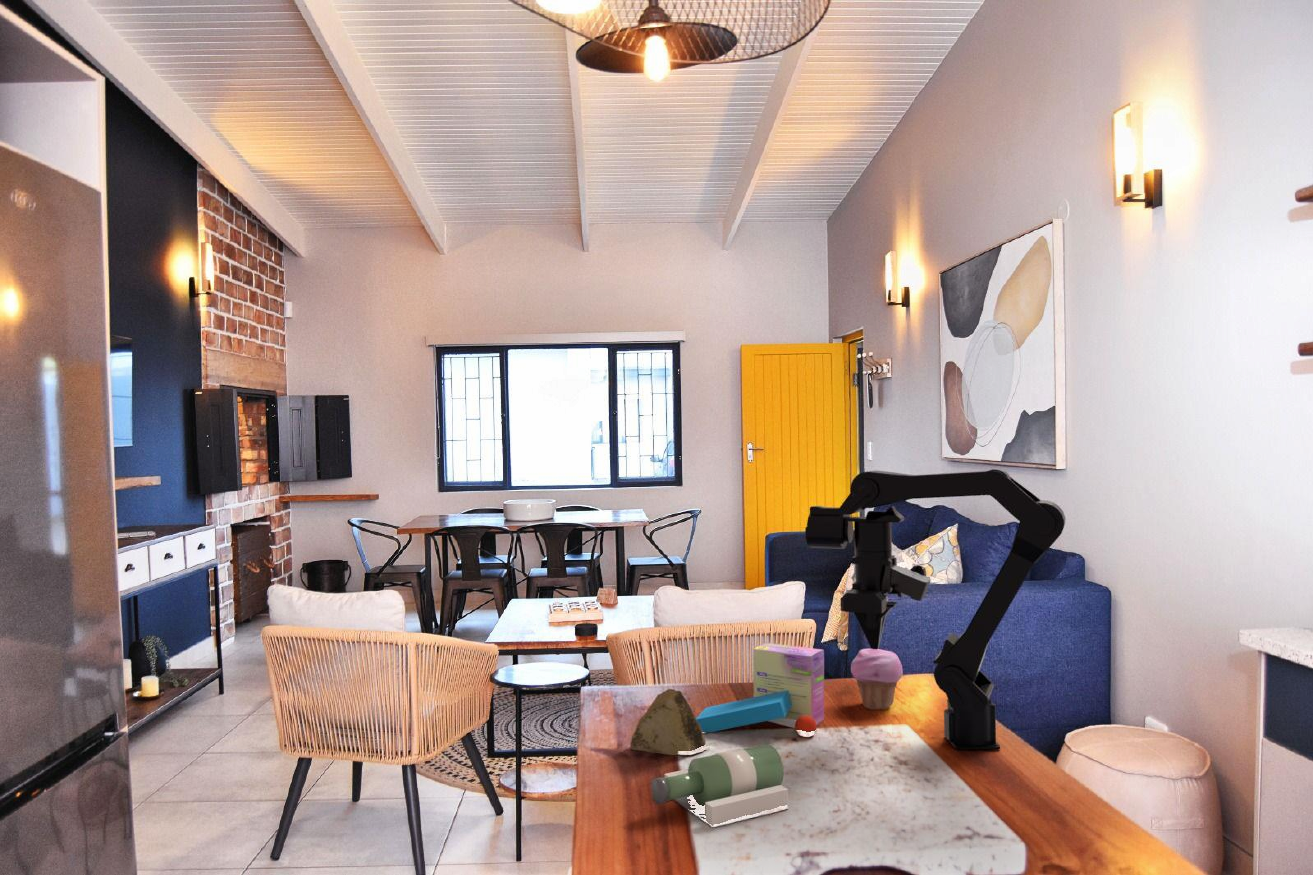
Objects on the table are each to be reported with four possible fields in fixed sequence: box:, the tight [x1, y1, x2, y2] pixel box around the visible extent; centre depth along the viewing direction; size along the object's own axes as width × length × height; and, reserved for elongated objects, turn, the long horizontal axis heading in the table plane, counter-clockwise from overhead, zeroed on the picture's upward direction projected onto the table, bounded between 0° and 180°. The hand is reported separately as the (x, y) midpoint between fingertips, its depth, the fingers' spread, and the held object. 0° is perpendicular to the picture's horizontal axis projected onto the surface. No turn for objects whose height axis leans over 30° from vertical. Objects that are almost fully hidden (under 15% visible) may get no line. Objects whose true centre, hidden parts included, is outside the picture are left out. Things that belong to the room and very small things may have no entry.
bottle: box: [650, 743, 784, 806], centre depth 112 cm, size 6×6×17 cm
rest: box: [664, 768, 789, 826], centre depth 113 cm, size 11×12×2 cm
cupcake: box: [850, 648, 904, 711], centre depth 152 cm, size 9×9×10 cm
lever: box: [695, 690, 818, 733], centre depth 140 cm, size 7×7×18 cm
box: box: [752, 642, 825, 726], centre depth 146 cm, size 10×6×12 cm, turn 58°
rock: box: [630, 688, 707, 756], centre depth 133 cm, size 11×9×10 cm
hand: (875, 648), depth 139 cm, fingers closed
